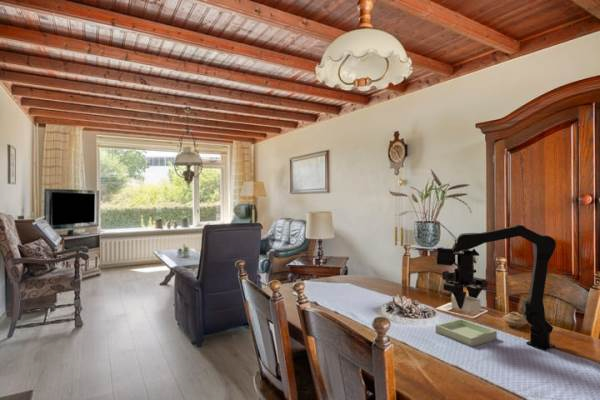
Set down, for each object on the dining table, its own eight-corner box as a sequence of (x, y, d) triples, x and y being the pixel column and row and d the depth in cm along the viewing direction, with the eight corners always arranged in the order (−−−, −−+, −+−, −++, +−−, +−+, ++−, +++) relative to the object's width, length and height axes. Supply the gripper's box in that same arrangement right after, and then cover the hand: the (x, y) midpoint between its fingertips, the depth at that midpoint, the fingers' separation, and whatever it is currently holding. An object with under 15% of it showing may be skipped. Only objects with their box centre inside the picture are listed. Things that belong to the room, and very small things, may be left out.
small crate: (461, 305, 138) (461, 294, 138) (480, 311, 131) (480, 299, 131) (451, 308, 135) (451, 296, 135) (470, 314, 128) (470, 301, 128)
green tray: (460, 325, 144) (460, 318, 144) (496, 338, 130) (496, 330, 130) (435, 332, 137) (435, 325, 137) (471, 347, 123) (471, 338, 123)
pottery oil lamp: (526, 320, 148) (532, 308, 144) (522, 338, 139) (529, 325, 135) (503, 310, 152) (509, 298, 149) (498, 327, 143) (504, 314, 140)
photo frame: (450, 301, 175) (487, 310, 161) (450, 304, 175) (487, 312, 161) (435, 307, 166) (473, 317, 152) (435, 310, 166) (473, 319, 152)
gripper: (462, 261, 144) (463, 298, 144) (431, 265, 135) (431, 305, 135) (488, 265, 134) (488, 305, 134) (456, 270, 126) (456, 313, 126)
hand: (465, 307), depth 133 cm, fingers closed on small crate, 6 cm apart
